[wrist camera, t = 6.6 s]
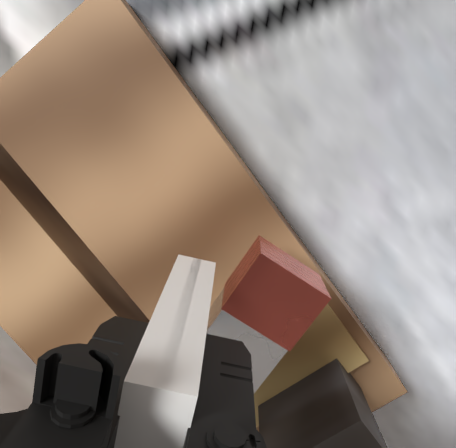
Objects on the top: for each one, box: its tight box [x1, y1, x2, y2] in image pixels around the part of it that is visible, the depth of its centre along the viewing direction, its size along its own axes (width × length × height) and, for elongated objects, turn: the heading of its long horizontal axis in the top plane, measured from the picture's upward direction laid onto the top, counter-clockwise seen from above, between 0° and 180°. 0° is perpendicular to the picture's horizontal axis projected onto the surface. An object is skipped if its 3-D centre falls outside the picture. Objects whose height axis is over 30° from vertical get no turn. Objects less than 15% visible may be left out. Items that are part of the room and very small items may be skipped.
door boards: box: [0, 0, 407, 448], centre depth 16 cm, size 20×12×6 cm, turn 37°
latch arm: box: [206, 235, 331, 393], centre depth 15 cm, size 13×4×2 cm, turn 147°
